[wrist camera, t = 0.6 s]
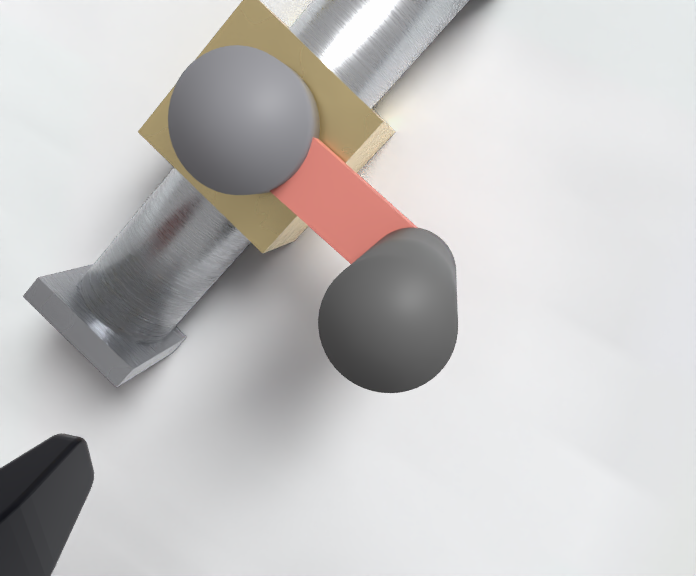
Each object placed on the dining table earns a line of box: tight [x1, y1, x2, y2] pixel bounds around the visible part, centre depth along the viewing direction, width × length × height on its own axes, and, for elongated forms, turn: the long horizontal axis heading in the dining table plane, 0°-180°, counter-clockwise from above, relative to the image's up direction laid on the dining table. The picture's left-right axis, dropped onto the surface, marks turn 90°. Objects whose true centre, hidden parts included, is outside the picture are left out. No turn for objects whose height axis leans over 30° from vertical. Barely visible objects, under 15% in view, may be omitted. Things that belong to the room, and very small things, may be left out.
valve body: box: [23, 0, 469, 388], centre depth 23 cm, size 22×6×5 cm, turn 137°
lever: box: [168, 45, 458, 393], centre depth 17 cm, size 11×4×8 cm, turn 49°
